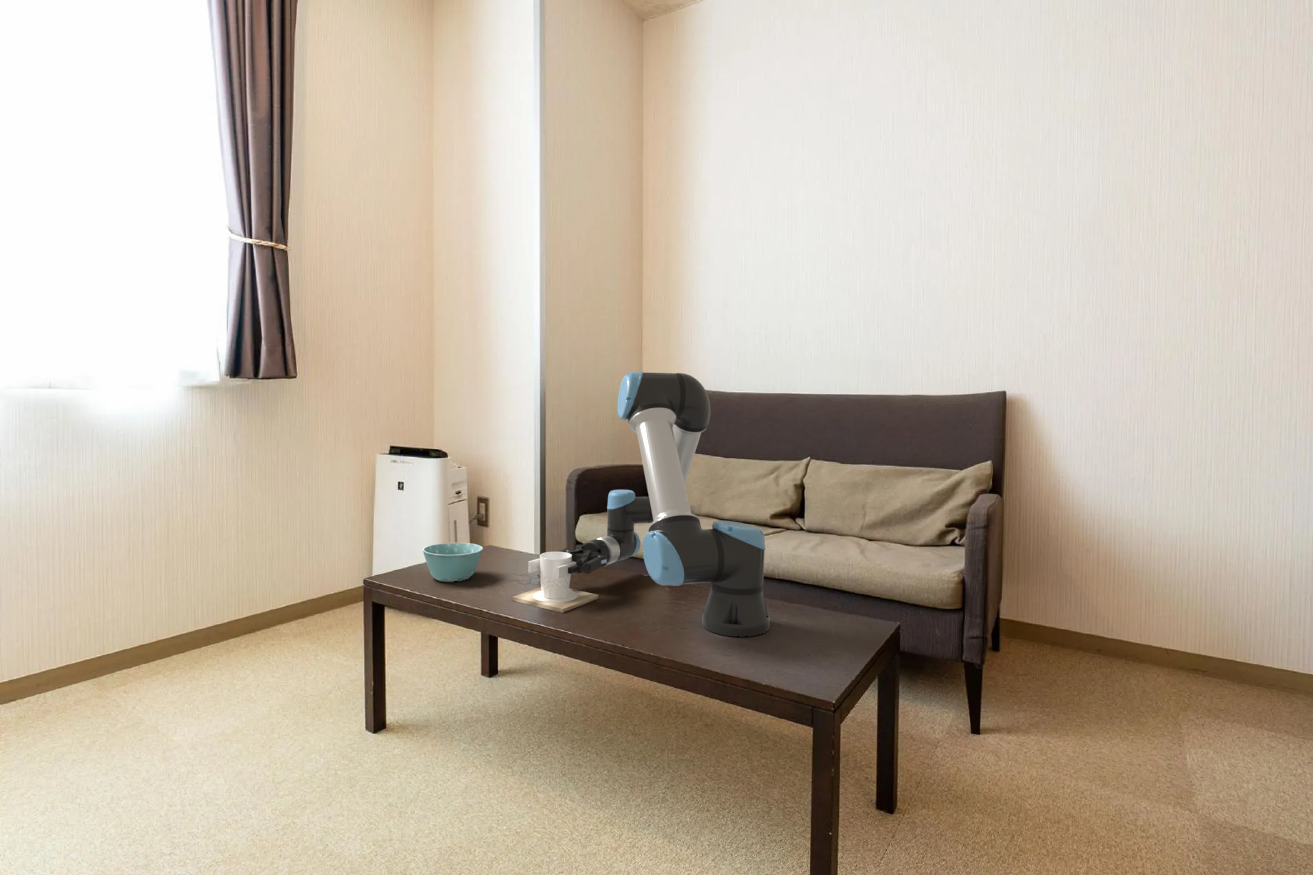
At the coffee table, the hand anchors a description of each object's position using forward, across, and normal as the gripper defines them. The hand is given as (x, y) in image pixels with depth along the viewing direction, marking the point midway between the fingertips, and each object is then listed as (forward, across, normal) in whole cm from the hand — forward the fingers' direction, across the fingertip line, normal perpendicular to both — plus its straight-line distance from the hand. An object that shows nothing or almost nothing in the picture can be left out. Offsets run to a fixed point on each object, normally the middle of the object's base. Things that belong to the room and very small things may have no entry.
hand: (543, 569), depth 171 cm
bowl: (-3, +35, -9) cm, 36 cm away
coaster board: (-5, 0, -8) cm, 10 cm away
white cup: (-5, 0, -8) cm, 9 cm away
